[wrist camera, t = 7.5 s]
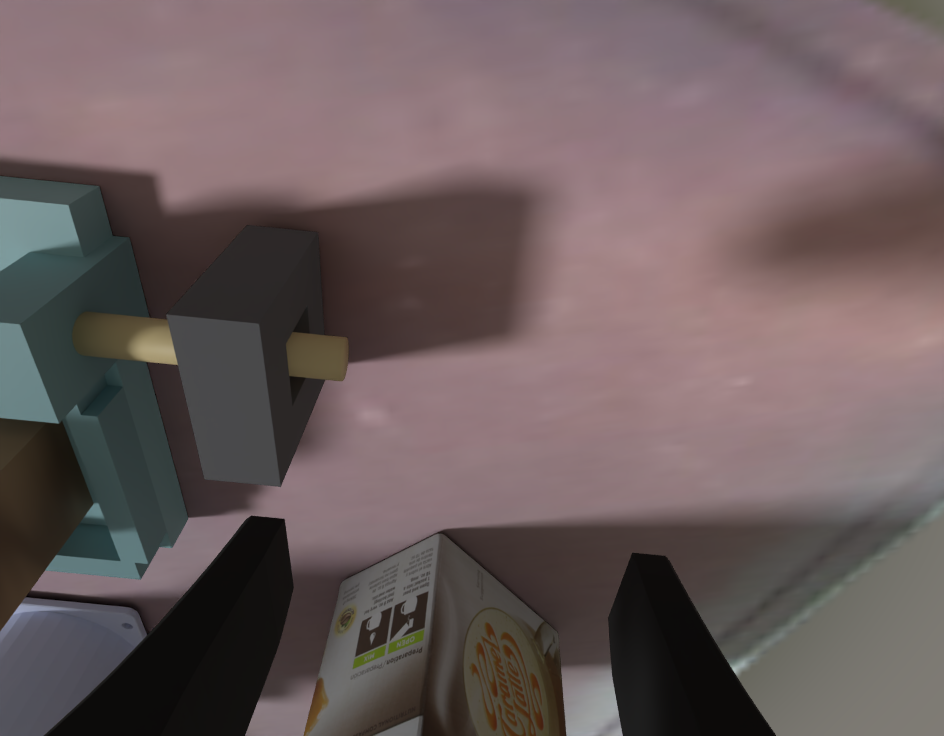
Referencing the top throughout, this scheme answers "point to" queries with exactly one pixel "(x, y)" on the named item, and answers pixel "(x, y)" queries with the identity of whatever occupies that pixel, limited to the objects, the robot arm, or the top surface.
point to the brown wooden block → (35, 504)
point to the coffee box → (436, 654)
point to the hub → (249, 353)
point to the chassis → (99, 368)
